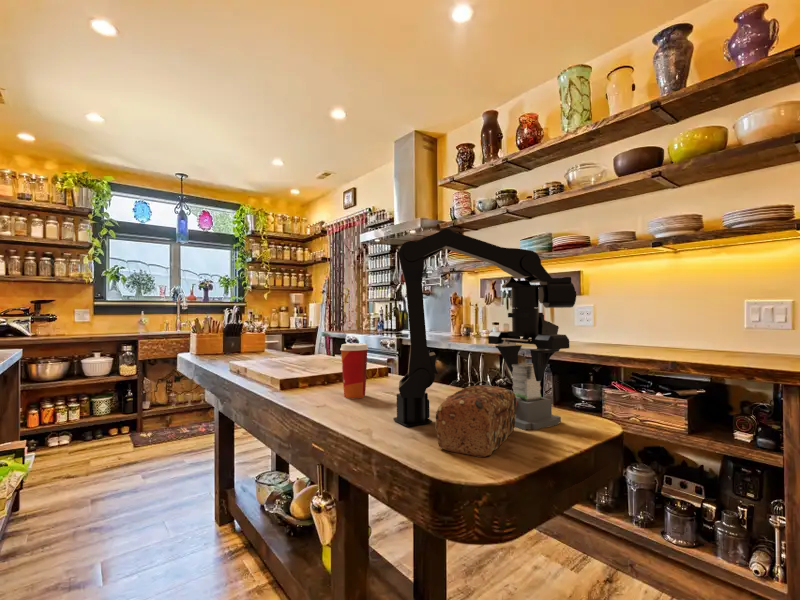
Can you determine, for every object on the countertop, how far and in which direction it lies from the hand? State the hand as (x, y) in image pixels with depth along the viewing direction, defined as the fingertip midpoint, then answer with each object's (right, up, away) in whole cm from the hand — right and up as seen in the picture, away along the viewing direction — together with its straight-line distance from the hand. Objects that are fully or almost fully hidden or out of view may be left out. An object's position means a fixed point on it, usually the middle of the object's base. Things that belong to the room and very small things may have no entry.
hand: (526, 378), depth 89 cm
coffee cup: (-41, -11, +27) cm, 50 cm away
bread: (-13, -10, -12) cm, 20 cm away
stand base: (0, -9, 0) cm, 9 cm away
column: (0, -6, 0) cm, 6 cm away
